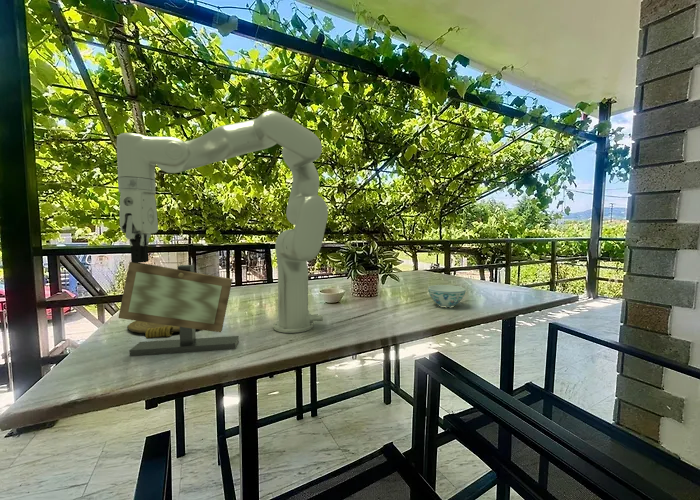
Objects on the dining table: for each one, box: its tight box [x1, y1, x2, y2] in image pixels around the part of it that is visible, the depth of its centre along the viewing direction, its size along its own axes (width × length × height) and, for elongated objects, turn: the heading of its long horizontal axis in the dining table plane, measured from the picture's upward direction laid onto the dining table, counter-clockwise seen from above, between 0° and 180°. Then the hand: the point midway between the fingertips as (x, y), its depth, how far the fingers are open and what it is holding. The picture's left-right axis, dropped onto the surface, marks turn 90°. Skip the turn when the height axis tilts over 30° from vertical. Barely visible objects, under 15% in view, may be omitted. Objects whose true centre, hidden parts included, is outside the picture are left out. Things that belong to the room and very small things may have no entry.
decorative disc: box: [126, 320, 180, 339], centre depth 106 cm, size 29×3×30 cm
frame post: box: [128, 264, 240, 357], centre depth 83 cm, size 25×6×22 cm, turn 102°
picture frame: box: [117, 261, 233, 333], centre depth 80 cm, size 24×2×14 cm, turn 101°
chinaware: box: [427, 284, 467, 307], centre depth 131 cm, size 15×15×8 cm
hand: (140, 261), depth 78 cm, fingers closed
